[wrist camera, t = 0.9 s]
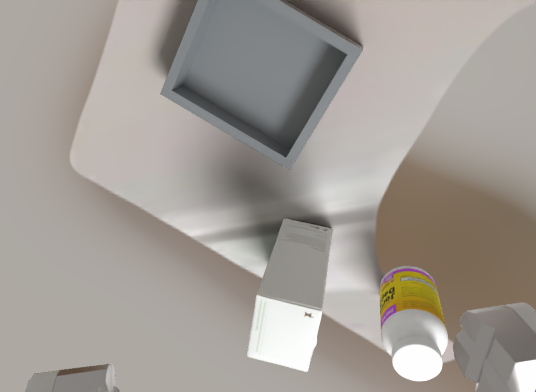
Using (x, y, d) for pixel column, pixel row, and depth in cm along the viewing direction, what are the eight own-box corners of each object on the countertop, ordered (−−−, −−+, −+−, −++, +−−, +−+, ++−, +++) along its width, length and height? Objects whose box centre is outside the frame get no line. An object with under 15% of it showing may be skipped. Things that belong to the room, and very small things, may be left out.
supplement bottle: (387, 257, 52) (392, 327, 41) (443, 270, 52) (464, 346, 40) (373, 301, 55) (374, 378, 44) (425, 314, 54) (441, 396, 43)
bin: (226, -36, 44) (213, -39, 40) (363, 46, 44) (362, 50, 40) (175, 87, 50) (160, 93, 46) (295, 158, 50) (289, 170, 46)
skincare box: (284, 215, 53) (254, 289, 39) (337, 228, 52) (325, 308, 38) (273, 271, 57) (242, 357, 43) (323, 284, 56) (308, 376, 42)
